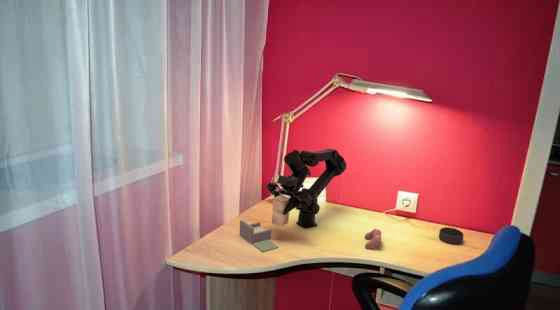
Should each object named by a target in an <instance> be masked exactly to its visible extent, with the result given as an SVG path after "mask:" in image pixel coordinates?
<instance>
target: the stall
mask: <svg viewBox="0 0 560 310" xmlns="http://www.w3.org/2000/svg"><path fill="white" fill-rule="evenodd" d="M239 235H240V236H241V237H242V238H243V239H244V240H246V241H247V242H248V243H250V244H251V245H252V243H256V242H260V241H264V240H270V239H272V229H271V228H270V229H266V228H264V227H262V226H261V222H260V221H259V222H253V223H248V222H246V221H244V219H243V220H242V219H240V220H239Z"/></svg>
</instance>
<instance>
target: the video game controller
mask: <svg viewBox="0 0 560 310" xmlns="http://www.w3.org/2000/svg"><path fill="white" fill-rule="evenodd" d="M364 239H365V240H370V241H367V242H366V244H365V245H364V248H365V249H367V250H370V249H371V250H372V249H373V248H375V247H376V246H379V245H380V244H381V243H382V231H381V230H380V229H377V228H374V229H372V230H371V231H370V232H367V233H366V234H365V235H364Z"/></svg>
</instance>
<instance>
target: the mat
mask: <svg viewBox="0 0 560 310" xmlns="http://www.w3.org/2000/svg"><path fill="white" fill-rule="evenodd" d="M251 245H252V246H253V247H254V248H256V249H257V250H258V251H259V252H261V253H265V252H268V251H272V250H276V249H279V246H278V245H276V243H273V242H272V241H271V240H270V239H267V240H263V241H259V242H256V243H252V244H251Z"/></svg>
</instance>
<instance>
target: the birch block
mask: <svg viewBox="0 0 560 310" xmlns="http://www.w3.org/2000/svg"><path fill="white" fill-rule="evenodd" d="M289 200H290V197H289V196H285V195H282V196H281V195H280V196H277V197H275V198H274V197H273V198H272V213H271V224H273V225H276V226H278V227H283V226H285V225H288V223H289V216H290V212H288V213H287V214H286V215H283V212H284V210H285V208H286V206H287V204H288V202H289Z"/></svg>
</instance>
